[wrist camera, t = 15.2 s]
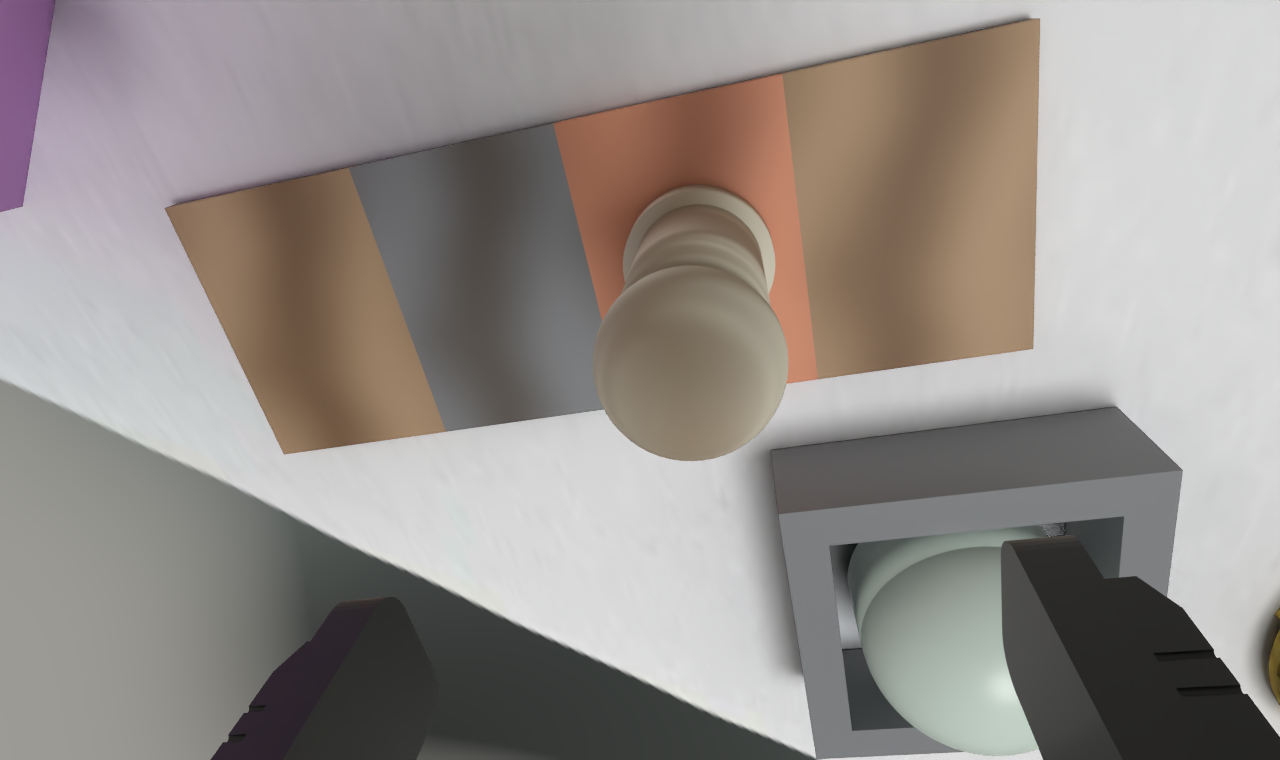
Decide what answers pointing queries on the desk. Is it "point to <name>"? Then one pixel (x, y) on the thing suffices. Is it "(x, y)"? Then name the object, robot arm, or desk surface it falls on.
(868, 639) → the dome
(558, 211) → the track board
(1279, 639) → the brown flat disc
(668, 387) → the pawn
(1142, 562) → the dome housing
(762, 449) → the desk surface
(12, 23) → the teapot
